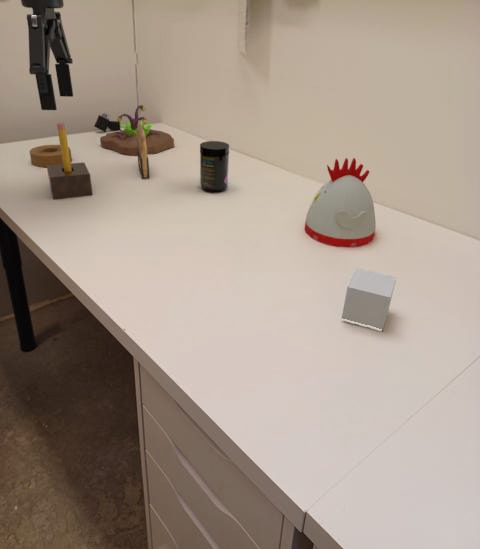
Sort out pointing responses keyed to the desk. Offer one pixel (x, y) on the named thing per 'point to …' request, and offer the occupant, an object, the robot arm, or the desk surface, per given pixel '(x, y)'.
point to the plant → (128, 138)
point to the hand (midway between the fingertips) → (58, 102)
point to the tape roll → (47, 155)
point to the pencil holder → (69, 181)
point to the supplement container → (214, 166)
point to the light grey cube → (368, 298)
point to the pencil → (64, 147)
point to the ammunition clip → (142, 152)
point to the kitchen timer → (342, 209)
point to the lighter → (106, 123)
